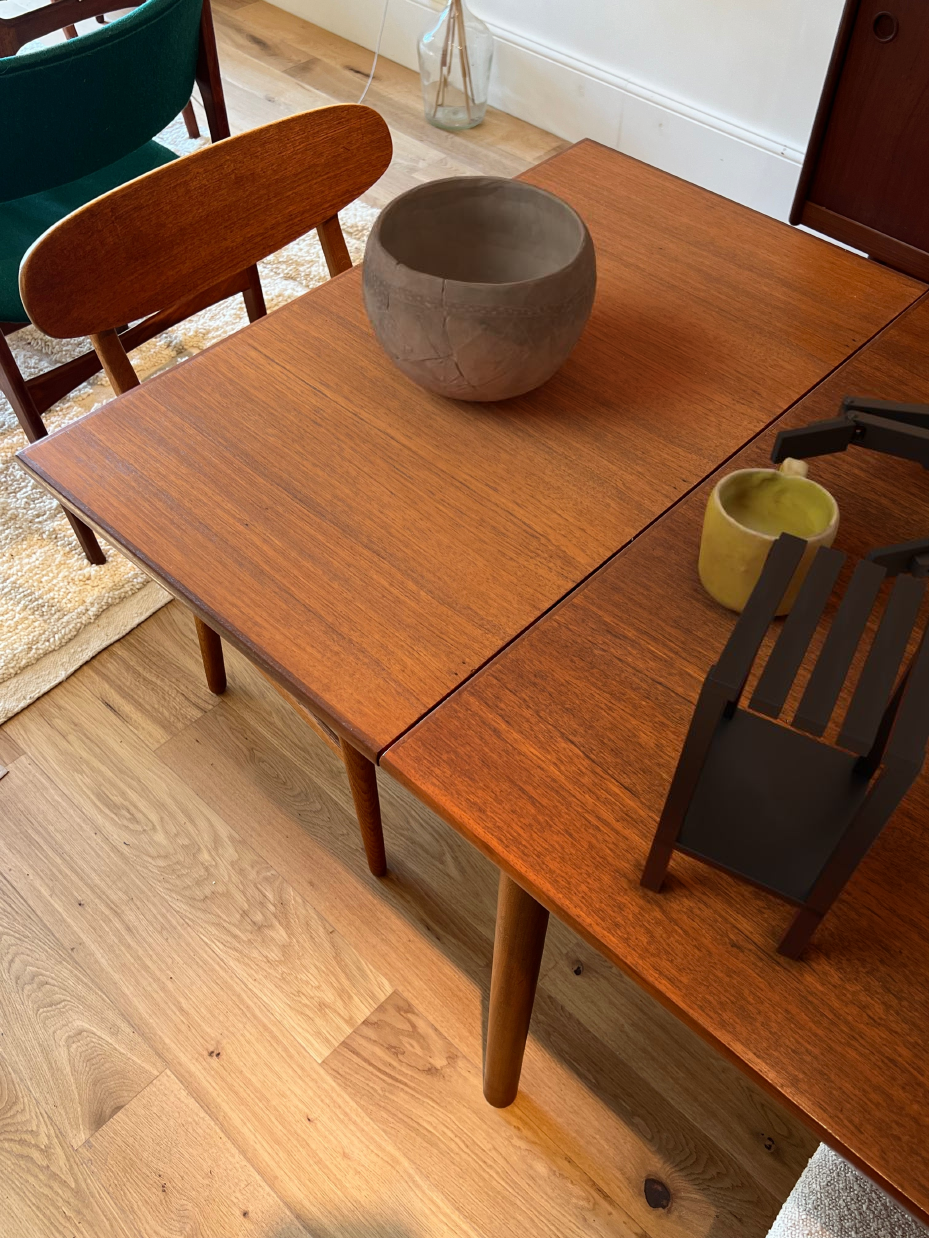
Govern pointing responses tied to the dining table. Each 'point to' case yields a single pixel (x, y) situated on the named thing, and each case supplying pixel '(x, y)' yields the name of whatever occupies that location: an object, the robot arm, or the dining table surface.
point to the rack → (800, 742)
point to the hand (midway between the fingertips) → (817, 504)
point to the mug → (762, 529)
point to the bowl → (478, 285)
